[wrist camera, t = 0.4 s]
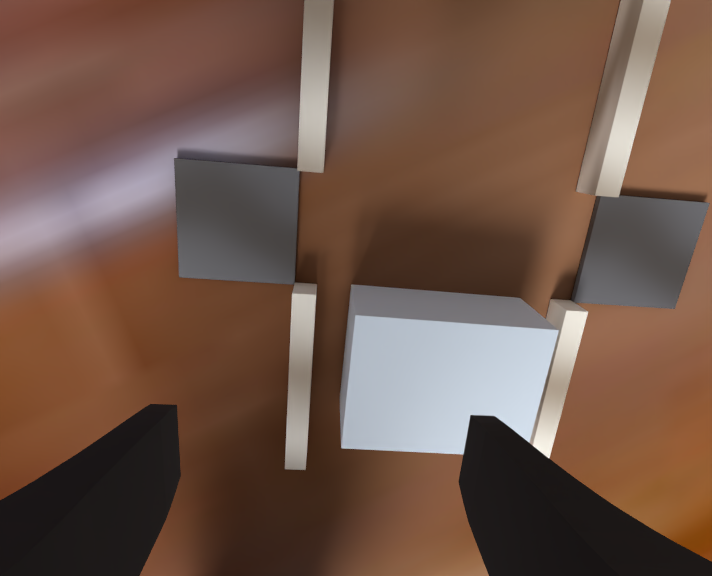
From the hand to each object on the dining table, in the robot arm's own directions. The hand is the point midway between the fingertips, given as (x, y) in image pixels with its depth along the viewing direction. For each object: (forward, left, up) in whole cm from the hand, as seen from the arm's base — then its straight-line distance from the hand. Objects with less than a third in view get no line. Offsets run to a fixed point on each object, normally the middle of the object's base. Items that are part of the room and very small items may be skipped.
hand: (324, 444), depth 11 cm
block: (-2, -5, -10) cm, 12 cm away
